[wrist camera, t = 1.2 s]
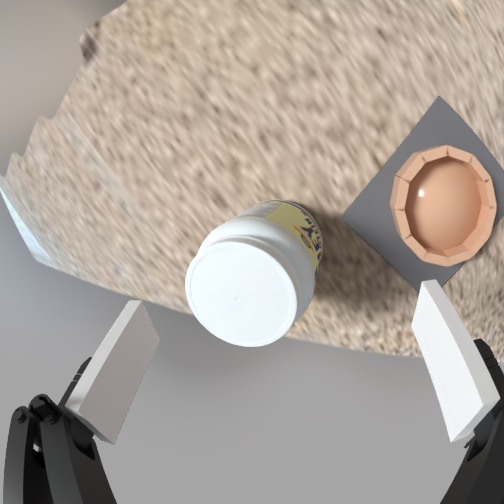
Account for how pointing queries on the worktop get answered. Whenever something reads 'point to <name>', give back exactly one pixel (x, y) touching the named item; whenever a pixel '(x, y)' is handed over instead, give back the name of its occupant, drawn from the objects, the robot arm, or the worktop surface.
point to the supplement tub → (256, 273)
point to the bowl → (443, 204)
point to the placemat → (380, 188)
